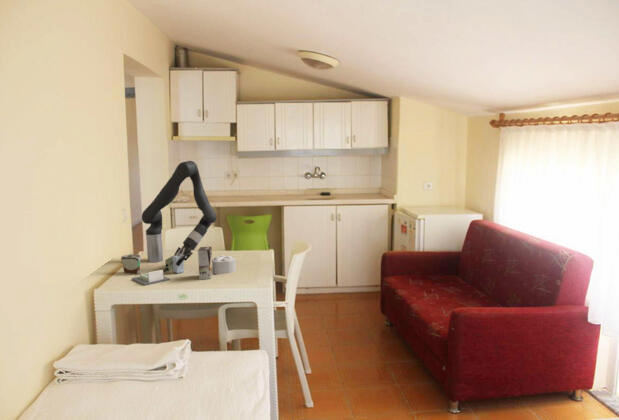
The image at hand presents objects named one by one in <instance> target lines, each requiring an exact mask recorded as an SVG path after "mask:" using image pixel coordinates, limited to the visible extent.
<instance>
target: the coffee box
mask: <svg viewBox="0 0 619 420" xmlns="http://www.w3.org/2000/svg"><path fill="white" fill-rule="evenodd" d="M212 249H213V248H212V246H200V247H199V248H198V250H197V256H198V257H197V259H198V260H197V261H198V279H199V280H211V279H212V277H213V274H214V272H213V268H212V259H213V251H212Z"/></svg>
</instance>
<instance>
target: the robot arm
mask: <svg viewBox="0 0 619 420" xmlns="http://www.w3.org/2000/svg"><path fill="white" fill-rule="evenodd" d="M200 175H201V174H200V171H199V168H198V165H197V163H196V162H195V161H193V160H187V161H182V162H180V163H178V165H177V166H176V168H175V170H174V172H173V174H172V175H171V176H170V178H169V179H168V180H167V182H166V183H165V184H164V186H163V187H162V188H161V189H160V191H159V192H158V194H157V195H156V196H155V198H154V199H153V200H152V201H151V203H150V204H149V205H148V206H147V207H146V208H145V209H144V210H143V212H142V215H141V221H142V222H143V223H144V224H146V225H149V227H148V228H147V229H145V237H146V239H145V241H146V253H147V263H148V262H149V263H157V262H162V261H164V254H163V252H164V251H163V239H162V230H163V215H162V211H161V210H163V209H164V208H165V207H167V206H168V205H170V204H171V203H172V202H173V201H174V200H175V199H176V197H177V195H178V194H179V192H180V186H181V185H182V183H183V182H184V181H185V180H186V179H187V178H190V180H191V183H192V187H193V198H194V201H195V203H196V205H197V208H198V209H199V210H200V212H202V217H200V219H199V221H198V223H197V225H195V227H194V228H193V230H191V232H190V233H188V235H187V236H186V238H185V239H184V241H182V244H183V246H181V247H180V246H178V247H177V249H176V251H175V253H174V254H173V256H176V254H177V255H180V256H181V257H180V259H179V260H178V261H177V263H176V265H177V266H179V265H180V264H181V263H182V261H183V262H184V261H187V260H188V259H190V257H191V256H192V255H193V254H194V253H193V252H192V251H195V249H196V248H197V246H198V245H199V243H200V242H201V241H202V239H203V237H205V235H206V233H207V232H208V229H209V228H210V226H211V225H212V224H214V223H216V221H217V213H216V211H215V210H214V208H213V207H212V204H211V203H210V201H209V199H208V197H207V193H206V192H205V189H204V186H203V182H202V178H201V176H200ZM172 264H173V261H172Z"/></svg>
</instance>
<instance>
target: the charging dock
mask: <svg viewBox="0 0 619 420" xmlns="http://www.w3.org/2000/svg"><path fill="white" fill-rule="evenodd" d="M163 270H164V269H160V270H154V271H149V272H147V273H140V274H139V276H136V277H131V280H132V281H133V282H136V283H138V284H140V285H142V286H150V285H154V284H159V283H164V282H168V281H170V280H171V279H170V277H167V276H165V275H164V272H163Z"/></svg>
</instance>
